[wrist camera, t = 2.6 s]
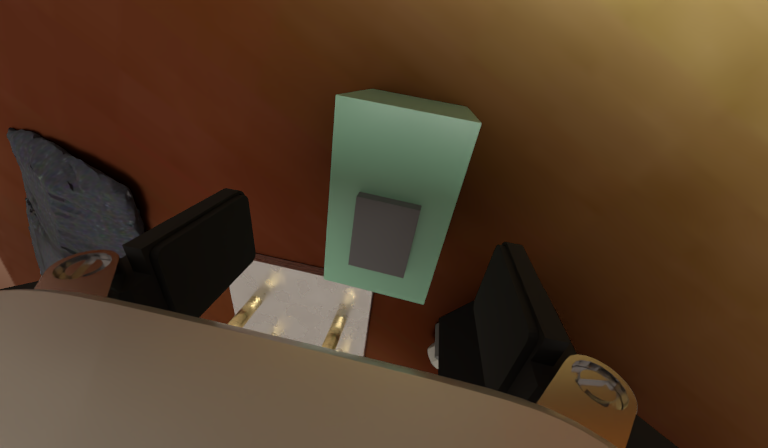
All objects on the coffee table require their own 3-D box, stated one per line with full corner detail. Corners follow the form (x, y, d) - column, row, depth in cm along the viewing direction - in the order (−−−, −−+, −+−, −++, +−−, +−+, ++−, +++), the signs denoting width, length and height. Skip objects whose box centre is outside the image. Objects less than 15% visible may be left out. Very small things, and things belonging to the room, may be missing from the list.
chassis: (375, 280, 24) (362, 318, 21) (358, 394, 33) (347, 436, 29) (230, 247, 26) (192, 278, 22) (251, 365, 35) (227, 401, 31)
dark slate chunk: (174, 188, 24) (119, 210, 20) (170, 331, 35) (135, 365, 31) (8, 110, 24) (-83, 117, 20) (57, 281, 35) (5, 309, 30)
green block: (467, 106, 17) (483, 125, 10) (428, 241, 22) (423, 312, 15) (372, 88, 17) (330, 95, 11) (355, 224, 22) (319, 286, 16)
